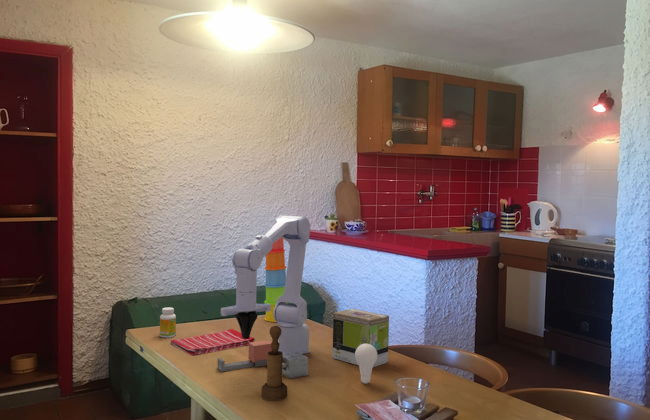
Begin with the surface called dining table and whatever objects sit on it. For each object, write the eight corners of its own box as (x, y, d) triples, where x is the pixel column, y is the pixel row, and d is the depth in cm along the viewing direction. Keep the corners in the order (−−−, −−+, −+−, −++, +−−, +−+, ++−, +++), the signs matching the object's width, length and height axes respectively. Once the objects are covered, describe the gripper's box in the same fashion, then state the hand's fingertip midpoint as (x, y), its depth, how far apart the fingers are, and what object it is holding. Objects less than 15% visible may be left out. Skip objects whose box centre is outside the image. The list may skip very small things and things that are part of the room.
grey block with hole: (298, 368, 165) (298, 352, 165) (307, 375, 160) (308, 357, 160) (279, 371, 162) (279, 354, 162) (288, 378, 157) (289, 360, 157)
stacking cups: (281, 323, 219) (283, 234, 217) (259, 320, 223) (260, 233, 222) (294, 318, 228) (296, 233, 227) (272, 315, 232) (273, 231, 231)
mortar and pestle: (266, 402, 140) (268, 330, 139) (257, 393, 145) (258, 324, 145) (291, 398, 143) (292, 327, 142) (281, 389, 148) (282, 322, 148)
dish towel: (256, 345, 191) (257, 337, 191) (192, 357, 176) (192, 349, 176) (231, 334, 204) (231, 327, 204) (169, 345, 189) (169, 337, 189)
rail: (273, 360, 173) (274, 350, 173) (278, 363, 170) (278, 353, 170) (217, 368, 164) (217, 358, 164) (221, 371, 161) (221, 361, 161)
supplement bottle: (171, 338, 195) (171, 310, 194) (156, 337, 196) (157, 309, 196) (178, 334, 200) (178, 307, 200) (164, 333, 201) (164, 306, 201)
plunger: (290, 367, 162) (290, 358, 162) (294, 369, 160) (294, 360, 160) (274, 369, 160) (274, 360, 159) (278, 372, 157) (278, 363, 157)
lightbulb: (370, 389, 150) (371, 348, 150) (350, 384, 153) (351, 344, 153) (380, 382, 155) (381, 343, 155) (360, 378, 159) (361, 339, 158)
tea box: (389, 362, 173) (390, 315, 173) (368, 369, 166) (370, 320, 165) (351, 352, 184) (353, 307, 183) (331, 358, 176) (332, 311, 176)
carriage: (266, 359, 173) (266, 339, 172) (272, 364, 169) (272, 343, 168) (248, 362, 170) (248, 342, 169) (253, 367, 166) (254, 346, 165)
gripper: (263, 286, 167) (263, 332, 168) (217, 290, 160) (216, 337, 161) (274, 290, 161) (273, 337, 162) (226, 295, 154) (225, 344, 155)
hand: (245, 338), depth 161 cm, fingers closed
